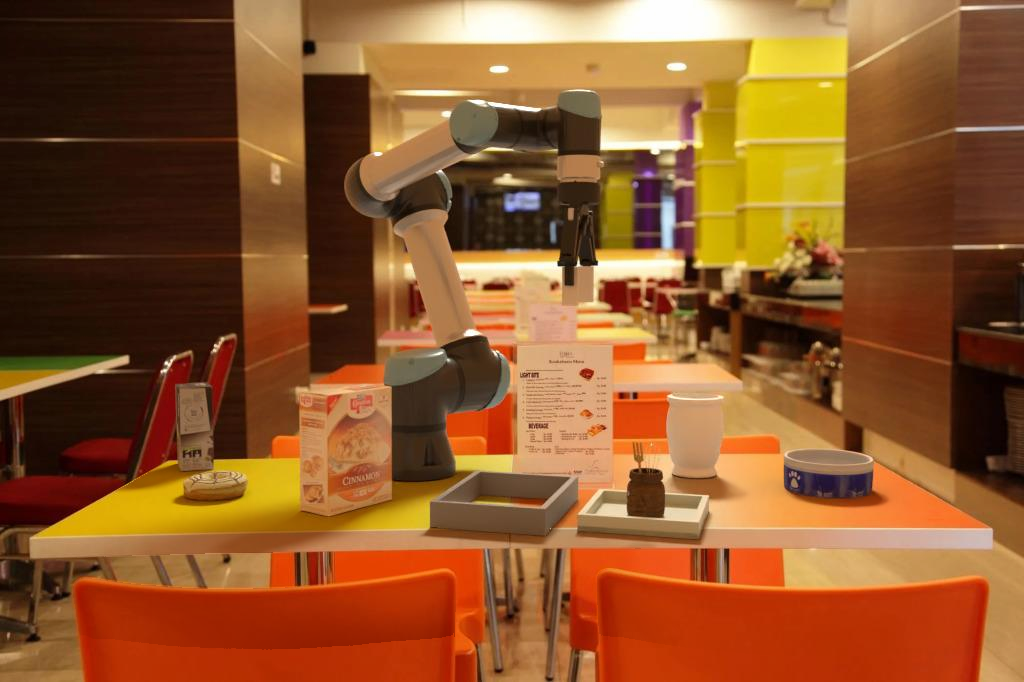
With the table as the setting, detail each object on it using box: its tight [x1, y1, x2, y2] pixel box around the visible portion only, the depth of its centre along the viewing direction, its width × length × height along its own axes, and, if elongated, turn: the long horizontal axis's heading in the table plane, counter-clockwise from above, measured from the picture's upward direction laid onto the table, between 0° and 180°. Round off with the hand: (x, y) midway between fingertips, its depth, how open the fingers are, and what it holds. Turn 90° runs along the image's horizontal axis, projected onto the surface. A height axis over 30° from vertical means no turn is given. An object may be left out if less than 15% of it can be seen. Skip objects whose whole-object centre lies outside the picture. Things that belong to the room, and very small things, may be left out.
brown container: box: [626, 441, 666, 518], centre depth 163 cm, size 6×6×12 cm
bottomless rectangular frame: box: [429, 470, 579, 537], centre depth 169 cm, size 18×24×4 cm
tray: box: [576, 488, 710, 540], centre depth 164 cm, size 18×18×2 cm
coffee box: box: [174, 381, 215, 472], centre depth 205 cm, size 9×6×16 cm
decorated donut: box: [182, 470, 249, 502], centre depth 181 cm, size 10×11×4 cm
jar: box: [665, 392, 725, 479], centre depth 198 cm, size 11×10×15 cm
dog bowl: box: [783, 448, 875, 499], centre depth 186 cm, size 15×15×6 cm
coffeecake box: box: [298, 383, 393, 517], centre depth 173 cm, size 15×7×20 cm, turn 143°
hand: (578, 304), depth 185 cm, fingers open, 13 cm apart
